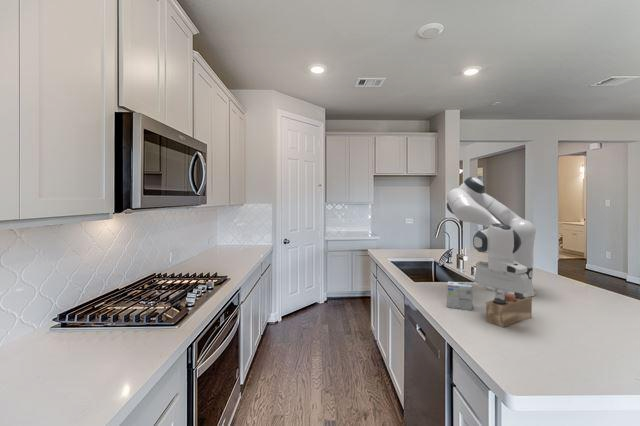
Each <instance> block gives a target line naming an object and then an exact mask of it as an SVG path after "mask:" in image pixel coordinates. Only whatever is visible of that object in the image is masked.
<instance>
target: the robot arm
mask: <svg viewBox="0 0 640 426" xmlns="http://www.w3.org/2000/svg"><path fill="white" fill-rule="evenodd" d="M485 189H486V187H485V184H484V183H483V181H482V180H481V179H479V178H477V177H475V176H469V177H467V178H466V179H465V180H464V181H463V183H461V184H460V185H459V186H458V187H455V188H453V189H451V190H450V191H448V193H447V195H446V201H447V203H446V209H447V210H448V211H449V212H450V213H451V214H453V215H454V216H455V217H456V218H457V219H458V220H460V221H461V222H464V223H470V224H477V225H482V226H484V227H486V229H483V230H482V229H481V230H478V231H477V232H476V233H475V234H474V236H473V238H472V244H473V247H474V249H475V250H476V251H477V252H479V253H482V254H488V256H487V262H486V261H477V263H476V264H475V272H474V278H473V279H474V280H473V281H474V282H475V283H476V284H479V285H483V286H486V287H485V288H486V290H489V291H493V293H494V298H496V299H500V300H504V299H505V295H506V294H514V292H516V293H521V294H523V296H525V297H529V298H532V297H534V296H535V295H536V294H535V291H534V286H533V285H534V284H533V276H534V271H533V270H534V269H533V267H532V266H533V259H532V258H533V250H534V249H533V248H534V245H535V244H534V243H535V240H536V239H535V237H536V232H537V231H536V227H535V225H534V224H533V223H532V222H531V221H530V220H527V219H524V218H522V217H520V216H519V215H518V214H517V213H516V212H514V211H513V210H511V209H510V208H509V207H508V206H506V205H504V204H503V203H501V202H499V200H497V199H495V198H494V197H493V196H491V195H489V194H487V193H486V192H485Z"/></svg>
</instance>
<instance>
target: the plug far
mask: <svg viewBox="0 0 640 426" xmlns="http://www.w3.org/2000/svg"><path fill="white" fill-rule="evenodd" d="M514 295H515V298H517V299H521V300H522V299H523V294H521V293H516V292H514Z"/></svg>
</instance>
